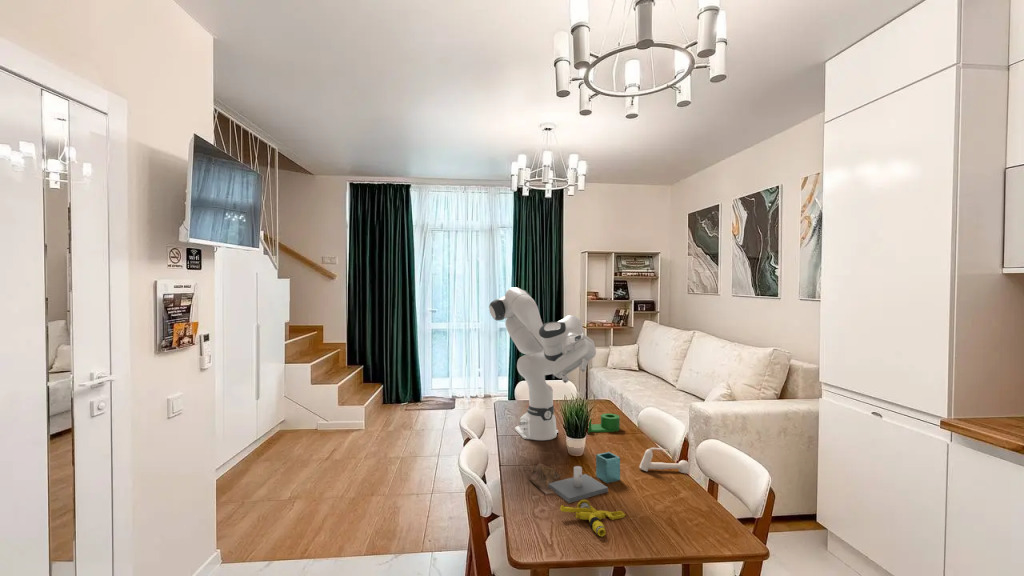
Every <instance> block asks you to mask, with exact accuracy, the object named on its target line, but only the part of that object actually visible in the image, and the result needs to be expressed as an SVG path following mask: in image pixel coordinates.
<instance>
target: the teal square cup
mask: <svg viewBox="0 0 1024 576" xmlns="http://www.w3.org/2000/svg"><path fill="white" fill-rule="evenodd" d="M595 463H596V464H595V465H596V466H595V468H596V469H595V477H596V478H598V479H599V480H601V481H602V482H604V483H605V484H611V483H614V482H617V481H621V457H620V456H618V455H616V454H614V453H612V452H610V451H607V452H602V453H598V454H595Z"/></svg>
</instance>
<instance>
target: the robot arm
mask: <svg viewBox="0 0 1024 576" xmlns="http://www.w3.org/2000/svg"><path fill="white" fill-rule="evenodd" d="M488 308H489V313H490V316H491V317H492V318H493V320H495V321H498V322H499V321H503V320H505V321H504V322H505V323H504V324H505V328H506V330H507V333H508V335H509V337H510V338H511V340H512V342H513V344H514V345H515V346H516V348H517V350H518V352H519V353H521V354H524V355H522V356H520V357H519V358H518V359H517V362H516V369H517V372H518V374H519V375H520V376H521V377H523V379H524V380H525V382H526V384H527V387H528V396H529V397H528V398H529V399H528V400H529V402H528V403H529V404H528V405H526V408H527V410H526V411H527V412H526V413H524V414H523V415H522V416H521V417H520V418H519V421H518V422H519V425H517V426H515V427H514V430H515V431H516V432H517V433H518V434H519V436H520V437H521V438H523V440H533V441H551V440H553V439H555V438H557V435H558V434H559V430H558V429H557V421H556V419H557V418H556V415H555V414H554V413H555V407H554V406H555V405H554V390H553V388H552V386H551V385H549V384H548V383H547V381H546V376H549V375H553V376H554V377H556V378H557V379H561V381H562V382H563V384H567V383H568V382H569V378H568V377H567V375H569V374H570V373H571V372H573V371H575V370H576V369H577V368H579V369H580V371H581V372H585V371H587V366H588V364H589V362H590V361H591V360H592V359H594V358H595V356H596V354H597V349H596V346H595V341H594V340H593V339H592V338H590V337H589V336H587V335H586V334H584V328H583V326H584V325H583V323H582V321H581V319H580V318H578V317H577V316H575V315H566V316H564V317H563V318H562V319H560V320H558V321H548V322H546V323H543V321H542V318H541V315H540V311H539V307H538V305H537V302H536V301H535V299H534V298H532V297H531V294H530V293H529V292H528V291H527V290H525V289H524V290H523V289H521V288H520V287H517V286H516V287H514V286H513V287H510V288H509V289H508V290H506V291H505V295H503V296H501V297H499V298H498V299H494V300H492V301H491V302H490V303H489V306H488ZM557 433H558V434H557Z"/></svg>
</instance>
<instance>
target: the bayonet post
mask: <svg viewBox="0 0 1024 576" xmlns="http://www.w3.org/2000/svg"><path fill="white" fill-rule="evenodd" d="M548 487H549V488H551V489H552V490H553V491H555V493H554V494H556V495H558V496H559V497H560V498H561V499H563V500H564V501H566V502H567V503H568V504H571V503H574V502H578V501H581V500H586V499H588V498H591V497H595V496H598V495H602V494H606V493H608V492H609V488H608V486H606V485H604V483H601V482H600V481H598V480H597V479H595V478H594V477H592V476H591V475H588V474H587V473H584V474H583V467H582V466H580V465H575V466H573V476H572V477H568V478H564V479H561V480H557V481H556V482H552V483H548Z"/></svg>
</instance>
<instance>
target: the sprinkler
mask: <svg viewBox="0 0 1024 576" xmlns="http://www.w3.org/2000/svg"><path fill="white" fill-rule="evenodd" d="M576 506H577V507H570V506H565V505H564V504H562V505H560V508H559V509H560V511H561V512H562V513H563V512H564V513H575V519H579V520H584V521H585V520H586V521H587V520H588V521H589V525H590V527H591V529H592V531H594V532H595V534H596V535H598V536H599V537H604V536H606V533H607V531H606V527H605V525H604V523H603V522H602V521H601V520H602V519H603V520H605V519H606V518H607V517H608V518H609V519H610V520H612V521H613V520H614V521H615V520H618V519H622V518H625V516H626V513H624V512H623V511H622V510H617V511H608V510H597V509H596V508H594V507H593V506H592V505H591V504H590V502H589V500H587V499H582V500H579V502H578V503H577V505H576Z"/></svg>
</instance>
